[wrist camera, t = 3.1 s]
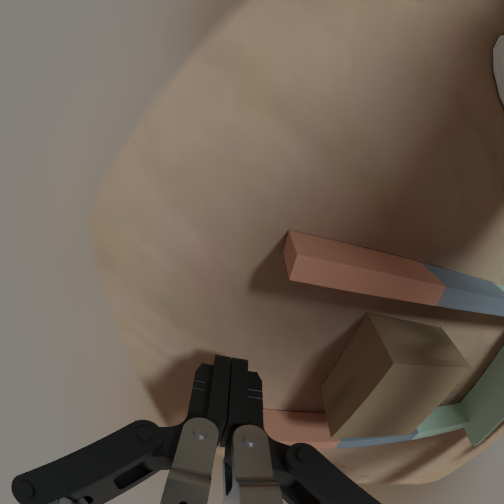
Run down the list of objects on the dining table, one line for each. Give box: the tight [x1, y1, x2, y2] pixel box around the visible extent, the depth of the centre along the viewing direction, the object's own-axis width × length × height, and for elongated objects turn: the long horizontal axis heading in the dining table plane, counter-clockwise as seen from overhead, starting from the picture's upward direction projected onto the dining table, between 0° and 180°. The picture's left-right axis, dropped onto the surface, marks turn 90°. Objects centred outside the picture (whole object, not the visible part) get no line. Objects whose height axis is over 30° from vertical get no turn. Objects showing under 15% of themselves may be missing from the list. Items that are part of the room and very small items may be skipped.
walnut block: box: [320, 313, 471, 438], centre depth 13 cm, size 6×6×4 cm
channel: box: [263, 230, 504, 449], centre depth 13 cm, size 22×13×5 cm, turn 77°
